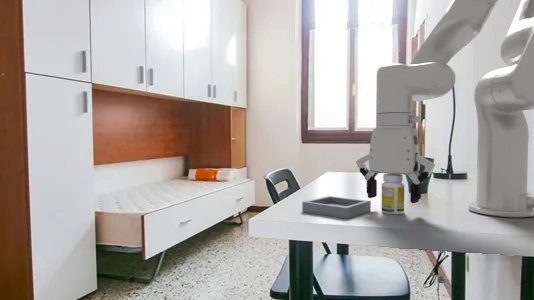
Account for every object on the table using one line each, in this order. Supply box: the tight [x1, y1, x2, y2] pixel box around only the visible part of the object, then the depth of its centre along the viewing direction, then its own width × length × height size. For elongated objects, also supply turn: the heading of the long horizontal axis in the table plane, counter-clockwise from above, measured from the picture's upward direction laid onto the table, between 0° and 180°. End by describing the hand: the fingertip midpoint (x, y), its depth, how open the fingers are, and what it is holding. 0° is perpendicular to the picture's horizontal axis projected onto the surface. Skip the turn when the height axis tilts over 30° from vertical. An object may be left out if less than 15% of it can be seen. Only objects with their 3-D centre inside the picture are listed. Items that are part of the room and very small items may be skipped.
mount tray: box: [301, 195, 372, 220], centre depth 85 cm, size 11×11×2 cm
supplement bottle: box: [381, 173, 405, 215], centre depth 84 cm, size 5×5×8 cm
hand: (392, 199), depth 84 cm, fingers open, 9 cm apart
